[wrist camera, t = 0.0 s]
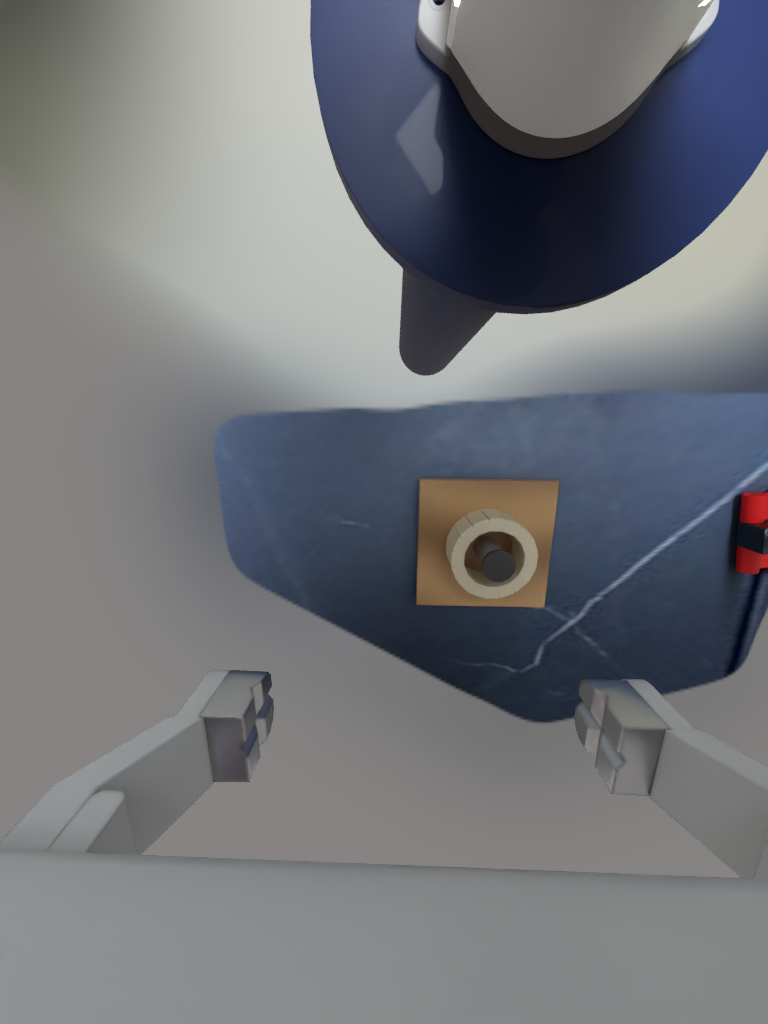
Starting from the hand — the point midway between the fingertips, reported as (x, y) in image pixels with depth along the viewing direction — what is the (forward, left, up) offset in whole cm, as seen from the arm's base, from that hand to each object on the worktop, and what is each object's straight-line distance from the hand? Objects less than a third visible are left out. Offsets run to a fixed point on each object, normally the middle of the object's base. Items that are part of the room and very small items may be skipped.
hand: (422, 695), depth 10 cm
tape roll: (+3, +7, -20) cm, 22 cm away
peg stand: (+3, +7, -21) cm, 23 cm away
